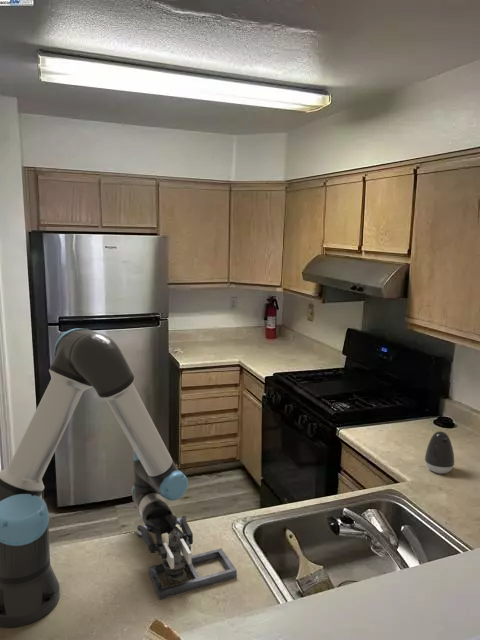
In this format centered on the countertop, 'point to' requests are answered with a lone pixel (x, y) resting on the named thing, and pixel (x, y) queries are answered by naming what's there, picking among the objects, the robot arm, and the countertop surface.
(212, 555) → the grey flat rectangular frame
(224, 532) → the countertop surface
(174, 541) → the dark grey chess piece
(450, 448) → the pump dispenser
